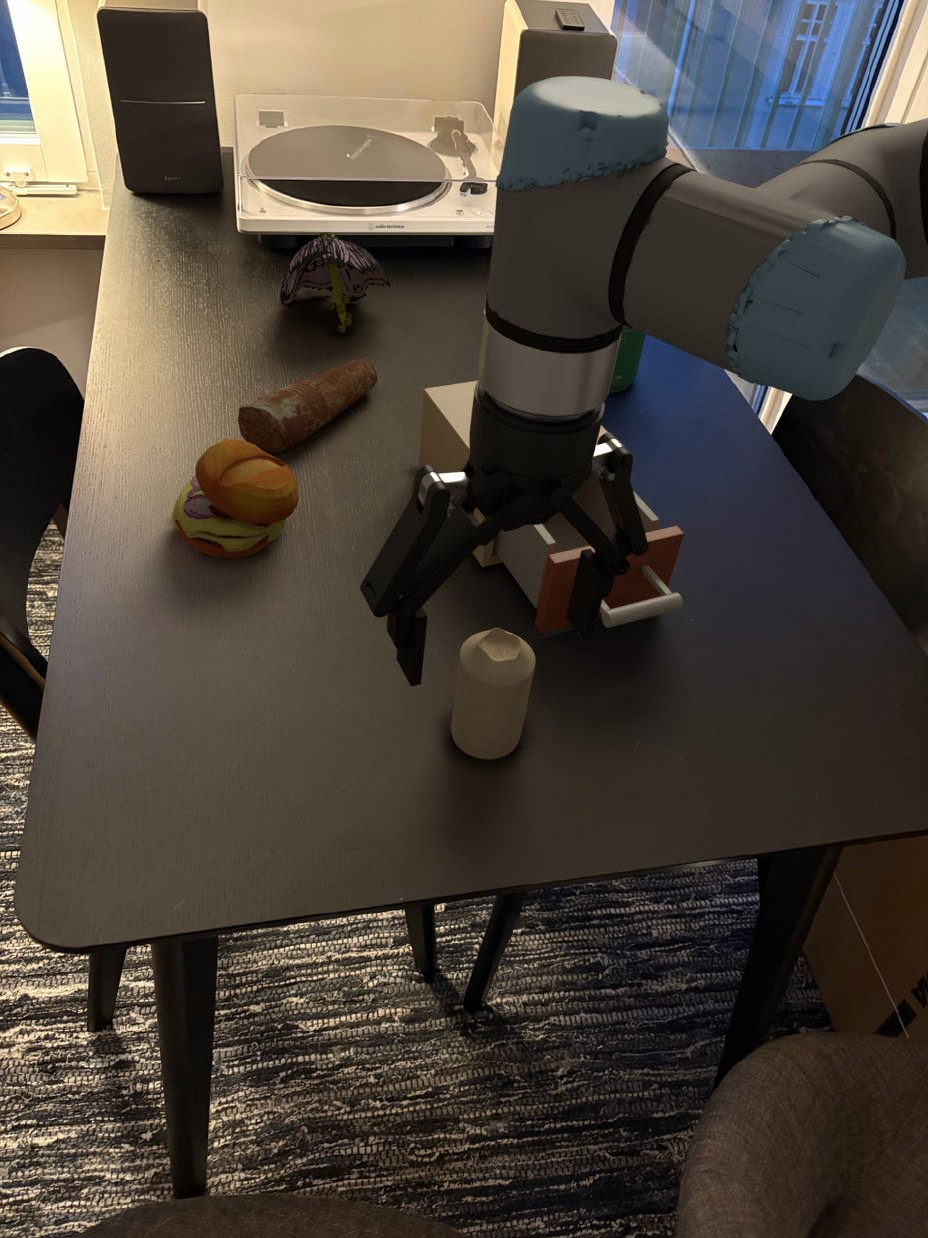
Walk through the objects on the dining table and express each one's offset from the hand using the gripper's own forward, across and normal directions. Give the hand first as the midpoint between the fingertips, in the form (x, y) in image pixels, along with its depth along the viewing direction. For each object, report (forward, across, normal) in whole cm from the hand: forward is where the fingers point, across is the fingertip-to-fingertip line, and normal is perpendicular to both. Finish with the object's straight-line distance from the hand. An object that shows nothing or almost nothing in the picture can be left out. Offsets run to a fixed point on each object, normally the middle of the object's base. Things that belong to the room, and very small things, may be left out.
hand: (496, 649), depth 70 cm
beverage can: (+10, -37, -46) cm, 60 cm away
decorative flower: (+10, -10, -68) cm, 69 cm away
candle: (+9, 0, 0) cm, 9 cm away
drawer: (+8, -15, -12) cm, 21 cm away
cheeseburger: (+10, +12, -30) cm, 34 cm away
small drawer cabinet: (+9, -15, -26) cm, 31 cm away
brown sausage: (+10, -1, -46) cm, 47 cm away
